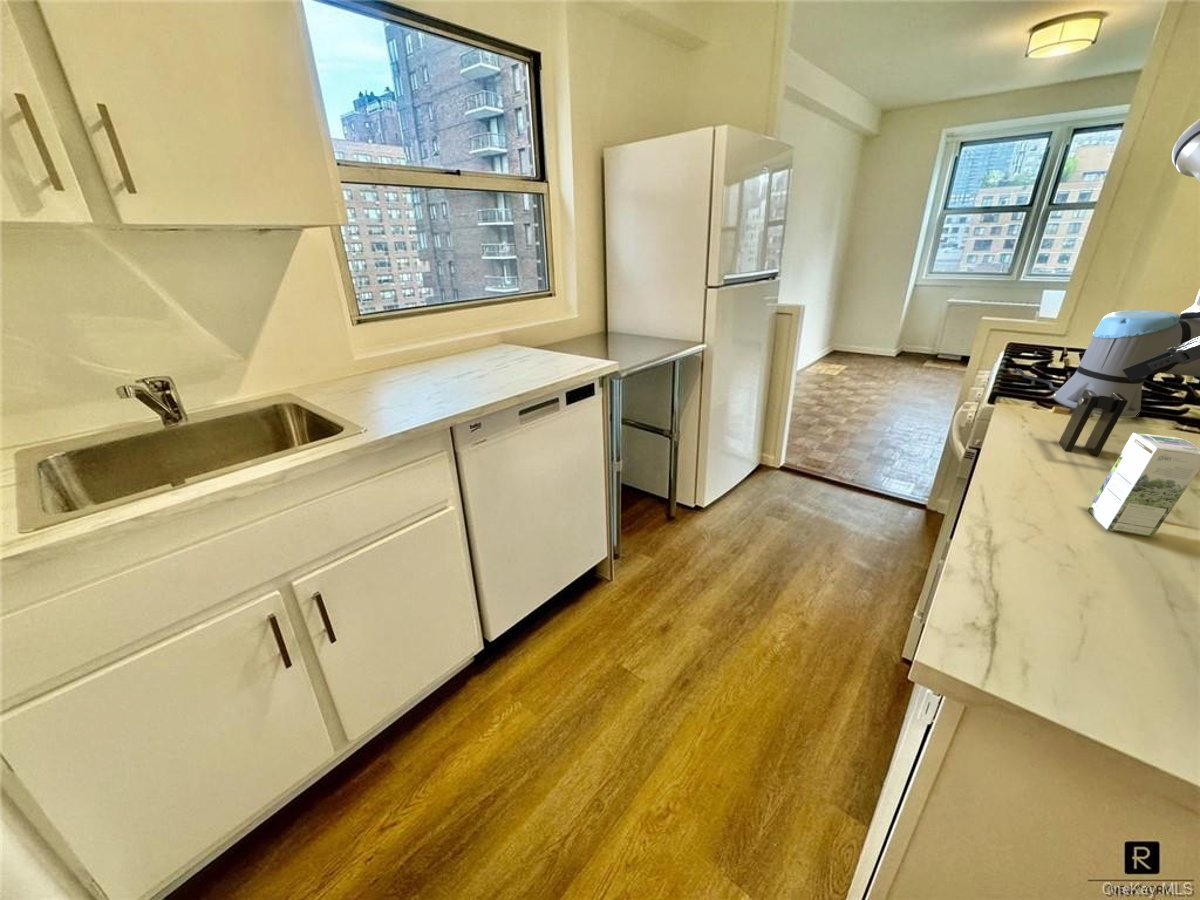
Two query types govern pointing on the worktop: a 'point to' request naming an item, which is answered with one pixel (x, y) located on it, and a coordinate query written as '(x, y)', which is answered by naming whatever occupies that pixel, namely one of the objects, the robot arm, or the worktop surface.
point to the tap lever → (1101, 405)
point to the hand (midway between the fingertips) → (1126, 374)
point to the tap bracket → (1101, 427)
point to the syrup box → (1145, 483)
